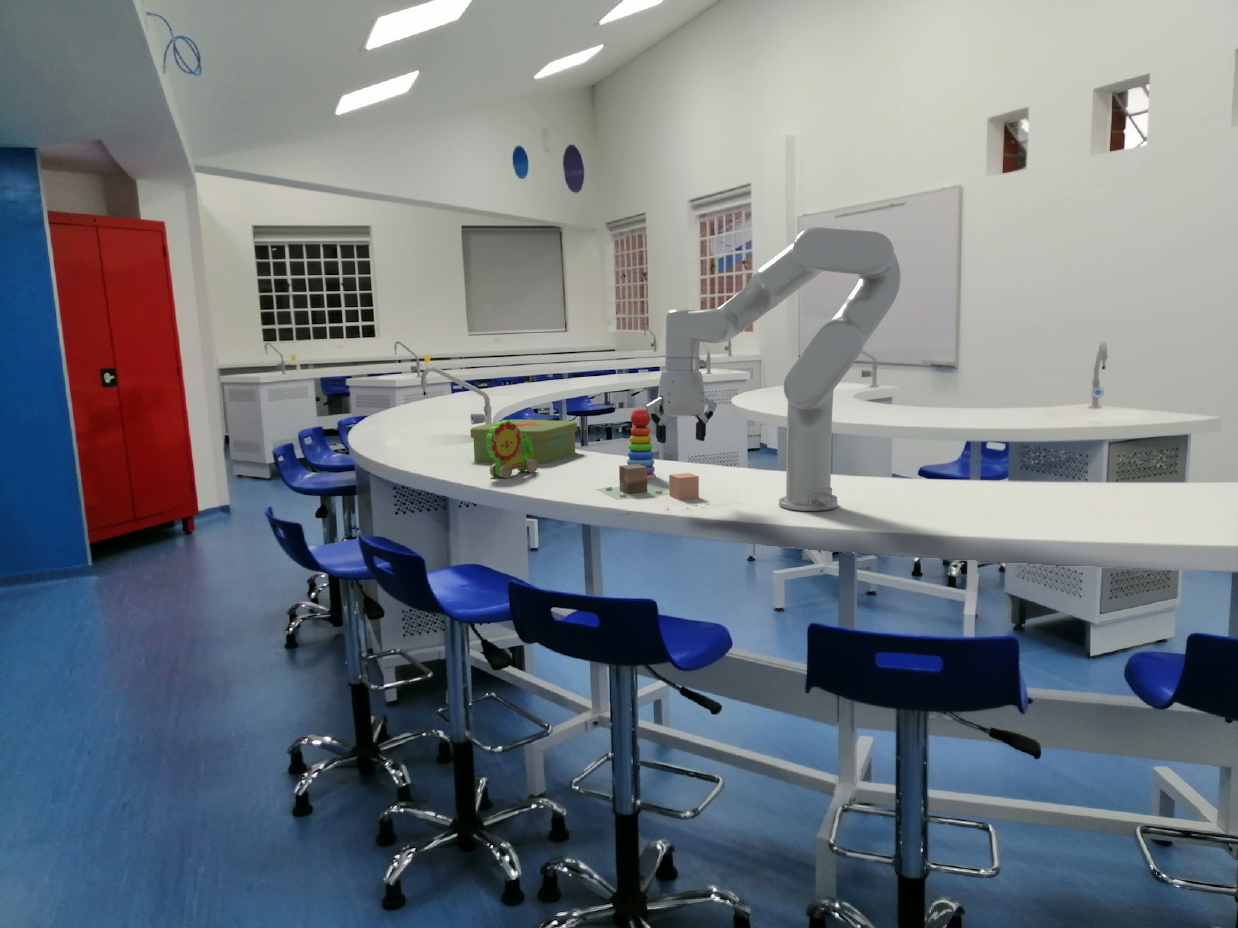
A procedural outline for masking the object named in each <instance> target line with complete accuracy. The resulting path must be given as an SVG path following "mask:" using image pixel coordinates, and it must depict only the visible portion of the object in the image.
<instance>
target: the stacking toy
mask: <svg viewBox="0 0 1238 928" xmlns="http://www.w3.org/2000/svg"><path fill="white" fill-rule="evenodd" d="M630 415H631V416H630V422H631V424H632V425H633V426H634V427H632V428H630V433H631V436H629V442H630V443H629V444H628V448H629V451H628V452H627V456H628V459H627V460H626V465H634V464H640V465H642V466H645V467H647V480H652V479H656V477H657V475H656V473H655V469H656V468H655V466H654V464H655V459H654V458H653V456H654V453H653V451H652V449H653V444H652V443H651V442H652V441H651V440H652V437H651V436H650V433H651V428H650V427H648V425H649V424H650V423H651V420H652V419H651V418H650V417H649V414H648V413H647V411H646V408H641V407H640V408H636V409H634V410H633V411H632V413H631V414H630Z"/></svg>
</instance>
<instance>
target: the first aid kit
mask: <svg viewBox="0 0 1238 928" xmlns="http://www.w3.org/2000/svg"><path fill="white" fill-rule="evenodd" d="M506 420H507V421H511V423H515V424H516V425H517V428H519V429H520V432H521V434H524V435H526V436H528V437H529V438H530V440H531V441H532V444H533V451H534V460H536V461H537V465H539V464H540V463H542V464H547V463H546V462H548V463H550V462H551V463H552V462H554V461H557V460H560V459H563V458H566V457H569V456H572V455H575V454H576V436H575V435H576V434H575V433H576V432H577V431H578V423H577V421H573V420H552V419H551V420H550V419H549V420H548V419H506ZM501 421H502V420H499V421H498V422H501ZM496 422H497V421H496ZM496 422H491V423H486V424H482V425H477V426H473V427H471V428H470V438H471V439H473V452H474V454H473V455H474V456H473V459H474V461H477V462H492V463H495V459H494V458H491V457H490V456H489V452H488V451H487V450H486V436H487V434H488V433H489V429H490V428H491V427H493V426H494V424H495V423H496ZM518 453H519V454H520V455H522V456H523V457H524V454H525V447H524V444H523V442H521V443H520V445H519V447H518ZM565 456H566V457H565ZM556 459H557V460H556Z"/></svg>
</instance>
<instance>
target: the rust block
mask: <svg viewBox="0 0 1238 928" xmlns="http://www.w3.org/2000/svg"><path fill="white" fill-rule="evenodd" d="M668 476H669V477H668V478H669V479H668V480H669V481H668V483H669V484H668V485H669V491H668V492H669V493H670V494H669V497H671V498H673V499H676V500H678V501H680V500H689V499H690V500H691V499H699V498H700V489H699V488H700V487H699V486H700V485H699V484H700V483H699V482H700V478H699V477H700V476H699V475H695V474H693V473H690V472H686V473H673V474H669V475H668Z"/></svg>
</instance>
